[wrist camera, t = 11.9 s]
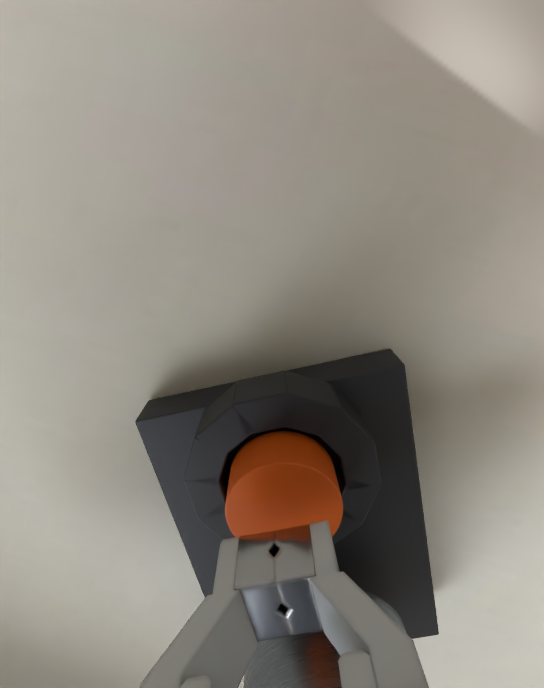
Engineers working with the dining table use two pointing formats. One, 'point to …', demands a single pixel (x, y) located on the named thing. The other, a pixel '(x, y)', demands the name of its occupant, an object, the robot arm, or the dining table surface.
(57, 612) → the dining table surface
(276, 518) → the orange button
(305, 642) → the kettle
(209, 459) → the button base
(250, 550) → the robot arm
